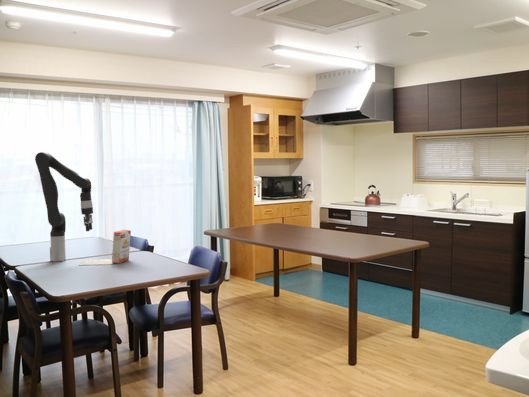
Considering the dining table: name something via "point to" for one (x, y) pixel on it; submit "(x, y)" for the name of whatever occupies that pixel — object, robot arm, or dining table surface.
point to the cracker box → (121, 246)
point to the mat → (97, 262)
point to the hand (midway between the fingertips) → (89, 230)
